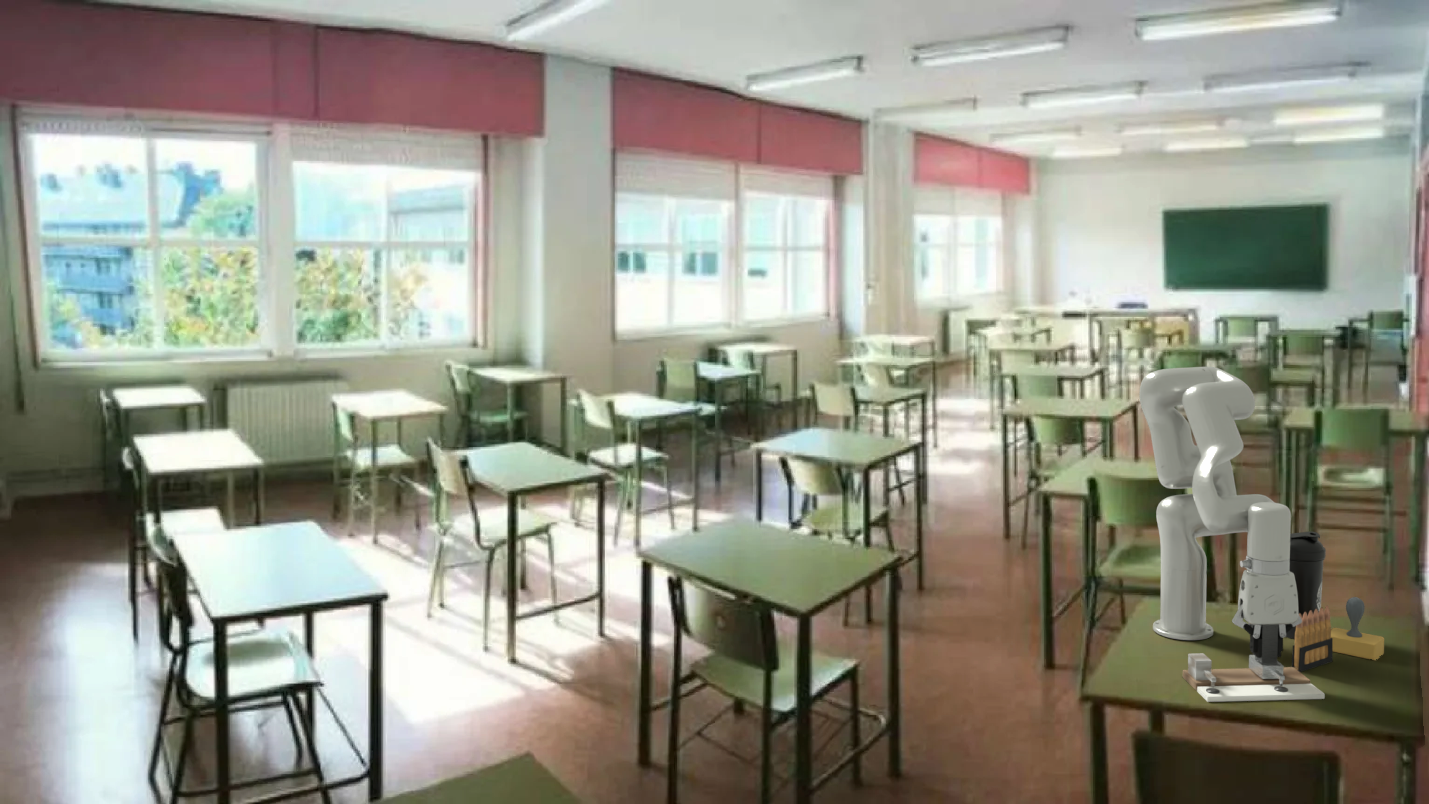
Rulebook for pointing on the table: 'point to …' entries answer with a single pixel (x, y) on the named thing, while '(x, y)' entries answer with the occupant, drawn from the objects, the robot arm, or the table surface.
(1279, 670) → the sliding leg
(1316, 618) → the ammunition clip
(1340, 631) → the rubber stamp
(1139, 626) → the table surface
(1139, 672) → the table surface
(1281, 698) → the hole plate
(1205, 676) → the divider base
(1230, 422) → the robot arm
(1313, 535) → the water bottle
